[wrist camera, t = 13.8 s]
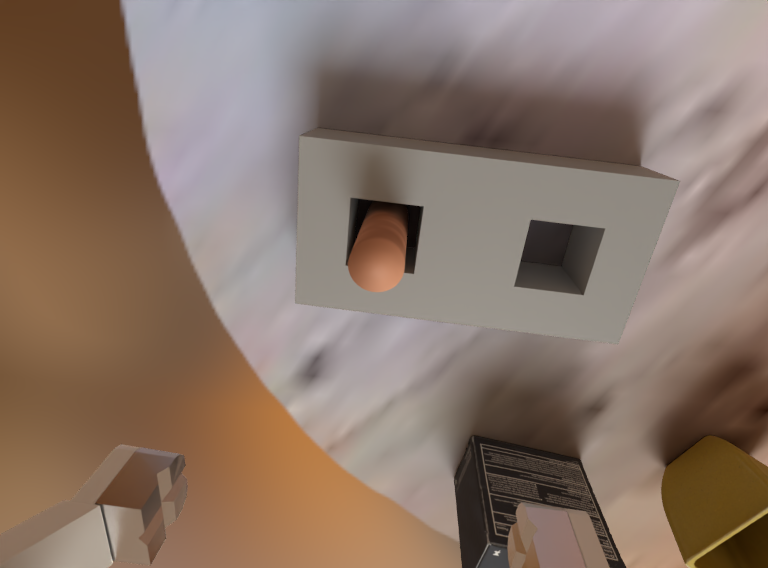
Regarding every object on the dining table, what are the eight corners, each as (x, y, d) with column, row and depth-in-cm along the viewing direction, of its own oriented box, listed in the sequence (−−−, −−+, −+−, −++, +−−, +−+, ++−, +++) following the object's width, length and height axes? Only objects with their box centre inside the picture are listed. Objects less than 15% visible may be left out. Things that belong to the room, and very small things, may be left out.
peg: (411, 197, 32) (407, 243, 23) (405, 237, 33) (400, 295, 24) (369, 192, 32) (350, 236, 23) (366, 232, 33) (346, 288, 24)
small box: (450, 482, 43) (459, 596, 34) (470, 432, 41) (486, 540, 31) (556, 506, 44) (594, 625, 34) (583, 457, 41) (632, 572, 31)
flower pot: (630, 470, 41) (683, 566, 33) (707, 407, 38) (787, 498, 30) (700, 510, 42) (768, 613, 34) (781, 454, 39) (876, 552, 31)
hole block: (640, 166, 30) (680, 181, 26) (592, 309, 35) (618, 344, 30) (317, 127, 31) (299, 135, 26) (311, 274, 35) (295, 303, 31)
